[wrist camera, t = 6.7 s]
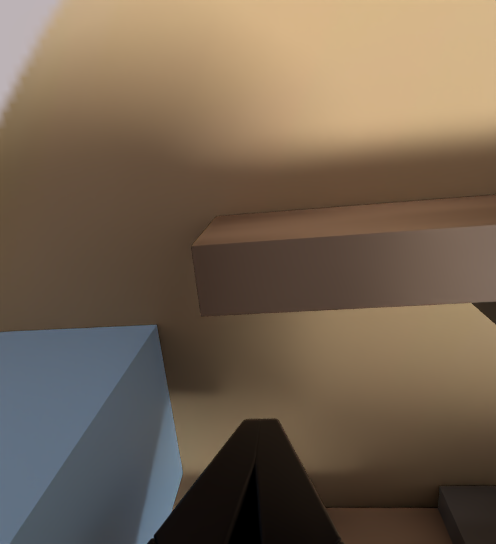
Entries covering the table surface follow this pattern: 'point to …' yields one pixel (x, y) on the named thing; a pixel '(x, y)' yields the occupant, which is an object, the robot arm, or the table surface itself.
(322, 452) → the table surface
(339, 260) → the brown rails
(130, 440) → the block
